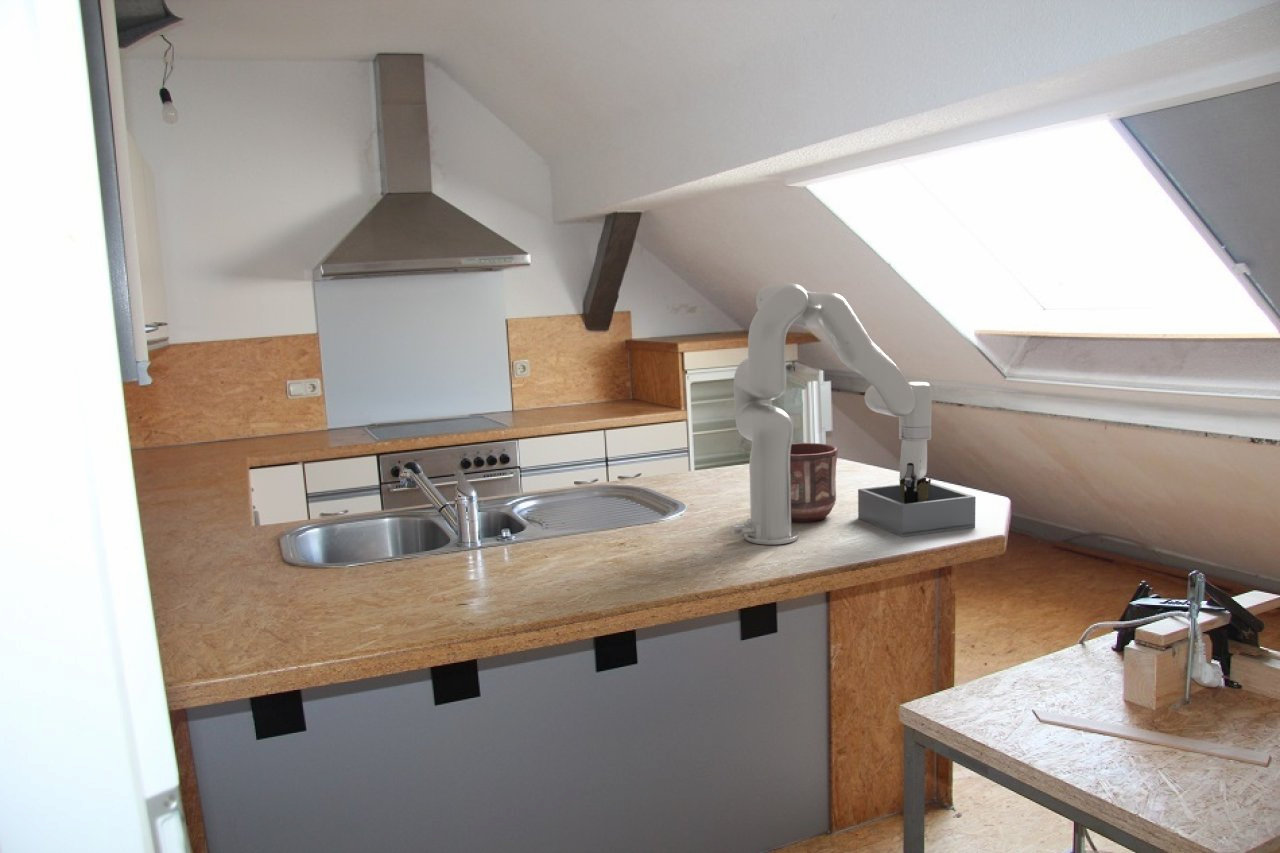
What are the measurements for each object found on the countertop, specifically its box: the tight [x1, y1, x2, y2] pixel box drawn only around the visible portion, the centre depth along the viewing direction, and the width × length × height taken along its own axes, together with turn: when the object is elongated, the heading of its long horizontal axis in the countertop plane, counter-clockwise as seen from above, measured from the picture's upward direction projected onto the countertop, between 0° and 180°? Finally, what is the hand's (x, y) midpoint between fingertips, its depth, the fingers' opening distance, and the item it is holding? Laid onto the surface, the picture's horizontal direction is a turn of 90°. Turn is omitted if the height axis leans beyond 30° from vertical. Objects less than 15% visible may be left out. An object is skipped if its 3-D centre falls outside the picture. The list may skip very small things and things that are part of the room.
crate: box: [857, 482, 976, 538], centre depth 237 cm, size 20×20×8 cm
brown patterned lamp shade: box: [898, 476, 932, 502], centre depth 236 cm, size 8×7×8 cm
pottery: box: [790, 442, 839, 524], centre depth 246 cm, size 18×18×18 cm
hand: (914, 503), depth 237 cm, fingers closed on brown patterned lamp shade, 7 cm apart
